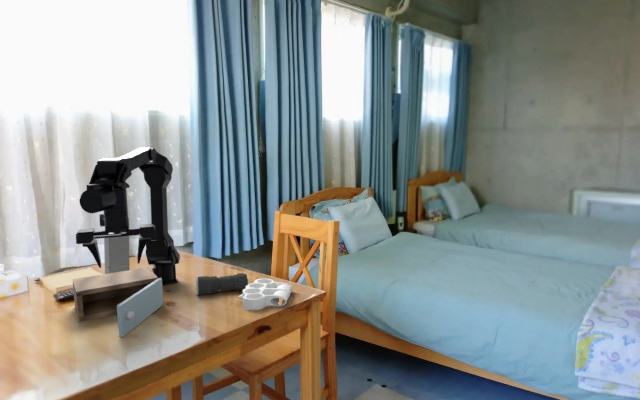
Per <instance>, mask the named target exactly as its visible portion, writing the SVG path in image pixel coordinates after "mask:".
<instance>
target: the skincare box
mask: <svg viewBox="0 0 640 400" xmlns="http://www.w3.org/2000/svg"><path fill="white" fill-rule="evenodd" d="M109 234H113V233H109ZM114 234H115V233H114ZM103 240H104V243H103V245H104V250H103V251H104V274H109V273H115V272H121V271H127V270H130V236H122V237H110V238H103Z"/></svg>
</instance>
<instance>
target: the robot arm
mask: <svg viewBox="0 0 640 400" xmlns="http://www.w3.org/2000/svg"><path fill="white" fill-rule="evenodd" d="M136 169H139V170H140V171H141V172H142V174H143V180H144V181H145V183H146V184H147V185H148V187H149V189H150V190H149V193H150V194H149V195H150V196H149V197H150V219H151V222H150V223H146V224H139V227H135V228H130V221H129V220H130V219H129V212H128V211H129V209H128V198H127V197H128V196H127V195H128V194H127V193H128V192H127V189H129V188H130V184H129V183H127V180H128V179H129V178H130V177H131V176H132V174H133V171H134V170H136ZM173 171H174V169H173V165H172V163H171V161H170V160H169V159H168V157H166V156H164V155H163V154H161V153H159V152H158V151H157V150H156V149H155V147H154V148H153V147H138V148H136V149H134V150H132V151H131V152H129V153H126V154H124V155H121V156H119V157H111V158H110V157H108V158H101V159H98V160H97V162H96V164H95V167H94V169H93V172H92V175H91V178H90V181H89V182H88V184H86V190H85V191H83V192H82V193H81V195H80V197H79V205H80V208H82V210H83V211H84V212H85V213H87V214H96V213H99V212H103V213H101V214H99V226H100V227H101V228H102V227H103V228H104V230H99V231H96V230H95V228H94V227H92V228H83V229H79V230H78V231H77V232H76V234H75V243H76V244H77V245H82V247H83V248H87V249H88V250H89V252H90V253H91V254H92V256H93V258H94V260H95V262H96V264H97V266H98V268H99V269H101V268H102V260H101V255H100V250H99V245H98V240H99V239H104V238H110V237H122V236H129V237H132V236H138V244H137V256H136V257H137V259H136V260H137V264H138V265H139V264H140V262H141V259H142V255H143V253H144V252H143V251H144V250H145V257H146V260H147V263H148V265H149V266H150V265H153V268H151V271H152V272H153V273H154V274H155V275H156V276H157V277H158V278H162V286H163V285H167V284H168V285H169V284H173V283H178V281H179V280H178V279H177V272H176V271H177V270H176V268H177V267H176V265H177V264H179V263H180V260H181V254H180V253H179V252H178V250H177V248H176V247H175V243H174V239H173V238H172V236H171V235H170V233H169V223H168V222H169V221H168V199H167V198H168V196H167V187H168V185H169V184H170V182H171V181H172V175H173ZM109 233H113V234H109ZM114 233H115V234H114Z"/></svg>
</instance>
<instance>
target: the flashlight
mask: <svg viewBox="0 0 640 400" xmlns="http://www.w3.org/2000/svg"><path fill="white" fill-rule="evenodd" d="M195 283H196V284H195V285H196V286H195V288H196V291H195V292H196V295H197V296H202V295H208V294H211V293H213V294H214V293H218V291H223V292H224V291H233V290H234V291H243V289H246V286H247V285H248V283H249V279H248V275H247V273H244V272H239V273H236V274H233V275H224V276H219V277H218V276H217V275H215V276H213V275H211V276H207V275H202V276H196V277H195Z"/></svg>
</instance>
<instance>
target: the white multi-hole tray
mask: <svg viewBox="0 0 640 400" xmlns="http://www.w3.org/2000/svg"><path fill="white" fill-rule="evenodd" d="M292 291H293V285H292V284H290V283H287V282H283V281H282V282H277V281H274V279H272V278H258V279H257V278H256V279H255V280H254V282H251V283H249V284H248V285H247V286H246V289H243V290H242V294H240V295H238V296H237V298H239V299H241V300H242V308H243V309H244V310H247V311H258V310H262V309H265V308H266V306H267V307H283V306H285V305H286V304H287V302H288V299H289V297H290V295H291V293H292ZM279 298H282V299H284V300H283V301H282V304H281V305H279V304H278V302H279ZM278 305H279V306H278Z"/></svg>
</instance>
